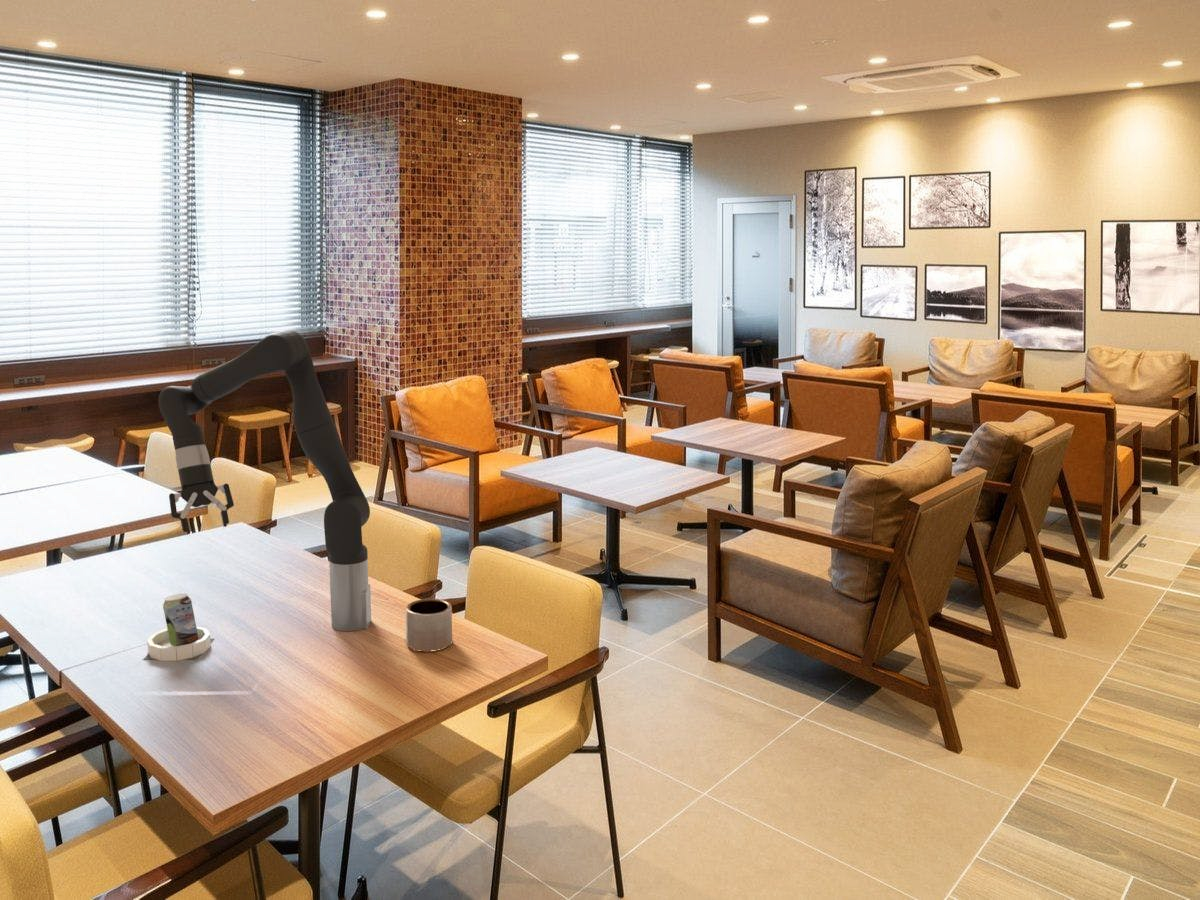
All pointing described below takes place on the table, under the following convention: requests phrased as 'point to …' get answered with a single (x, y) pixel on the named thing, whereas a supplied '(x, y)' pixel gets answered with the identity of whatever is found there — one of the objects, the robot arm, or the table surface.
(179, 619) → the beverage can
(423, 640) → the planter
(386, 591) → the table surface
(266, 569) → the table surface
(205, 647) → the bowl
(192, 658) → the mat
